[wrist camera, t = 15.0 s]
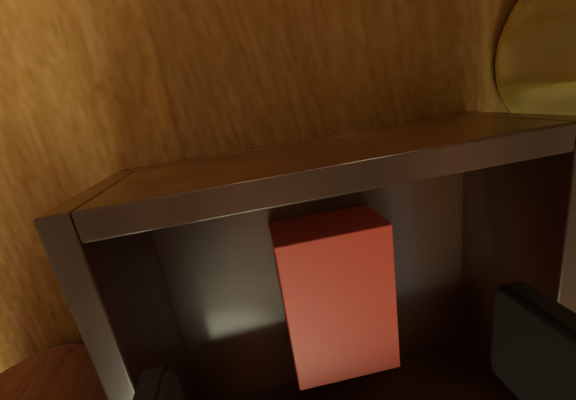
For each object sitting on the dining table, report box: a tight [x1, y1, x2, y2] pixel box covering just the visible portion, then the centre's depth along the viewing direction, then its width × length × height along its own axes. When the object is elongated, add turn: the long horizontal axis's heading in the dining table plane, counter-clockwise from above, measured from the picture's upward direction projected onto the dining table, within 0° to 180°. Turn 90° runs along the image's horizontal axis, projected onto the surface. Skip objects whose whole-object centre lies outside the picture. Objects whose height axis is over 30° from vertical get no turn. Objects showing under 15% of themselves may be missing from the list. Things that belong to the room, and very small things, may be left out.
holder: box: [33, 111, 576, 400], centre depth 12 cm, size 14×12×5 cm
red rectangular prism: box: [268, 204, 400, 390], centre depth 13 cm, size 6×4×2 cm, turn 9°
